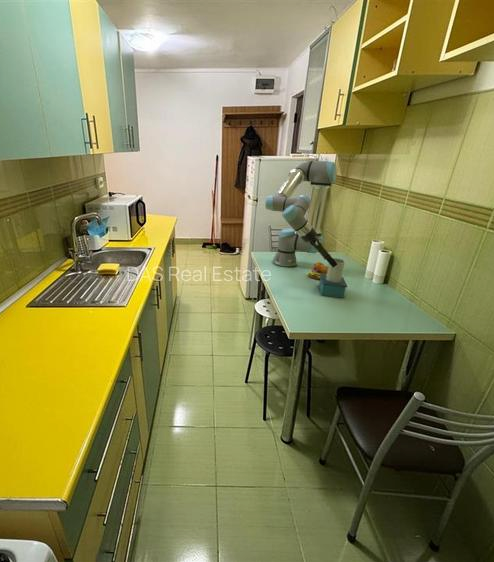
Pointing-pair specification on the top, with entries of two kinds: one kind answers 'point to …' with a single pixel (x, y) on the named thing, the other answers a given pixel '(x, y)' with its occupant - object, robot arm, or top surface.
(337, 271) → the cup
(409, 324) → the top surface
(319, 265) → the cheeseburger
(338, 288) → the container
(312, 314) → the top surface
